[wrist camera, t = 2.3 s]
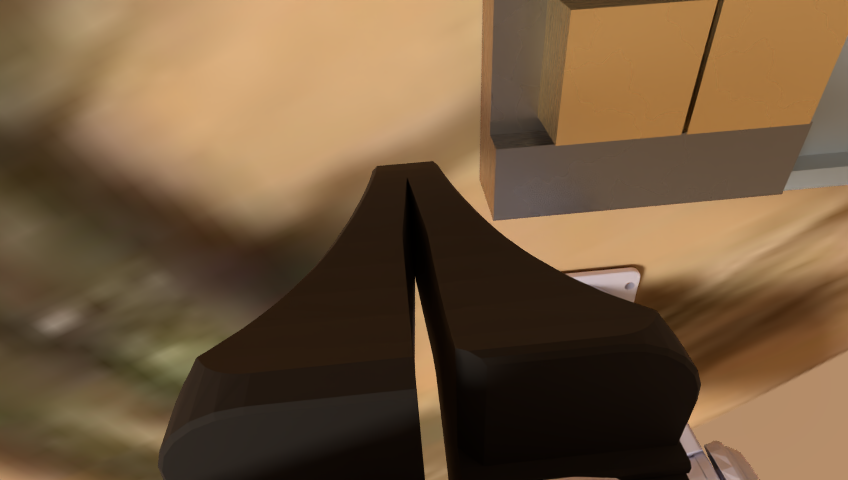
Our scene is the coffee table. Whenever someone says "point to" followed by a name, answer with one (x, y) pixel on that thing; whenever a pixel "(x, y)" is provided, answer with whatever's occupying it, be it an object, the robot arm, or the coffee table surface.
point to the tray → (826, 136)
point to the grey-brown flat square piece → (601, 161)
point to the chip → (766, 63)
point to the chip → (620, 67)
